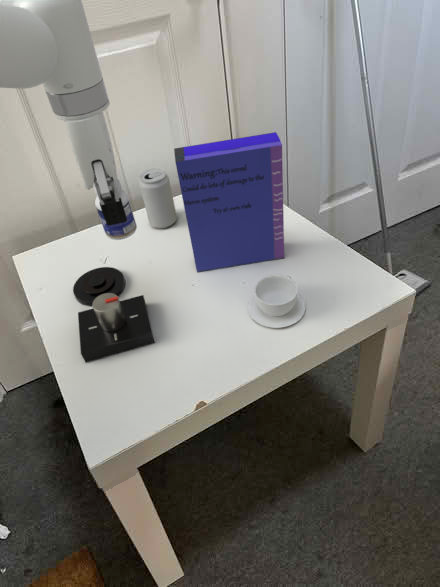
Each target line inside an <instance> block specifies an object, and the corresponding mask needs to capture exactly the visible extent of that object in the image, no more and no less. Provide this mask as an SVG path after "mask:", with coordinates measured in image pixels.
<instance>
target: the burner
mask: <svg viewBox="0 0 440 587" xmlns="http://www.w3.org/2000/svg"><path fill="white" fill-rule="evenodd" d="M125 287H126V279H125V276H124V274H123V273H122V271H120V270H119V269H117V268H115V267H111V266H101V267H96V268H93V269H90V270H88V271H87V272H84V273H83V274H82V275H81V276H79V278H77V279H76V280H75V282H74V285H73V287H72V294H73V296H74V299H75V300H76V301H77V303H79V304H81V305H83V306H87V307H92V304H93V301H94V300H95V299H96V298H97V297H98V296H100V295H102V294H105V293H113V294H115V295H117V296H118V297H120V295H121V294H122V293H123V292H124V290H125Z"/></svg>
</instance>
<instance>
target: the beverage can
mask: <svg viewBox="0 0 440 587" xmlns="http://www.w3.org/2000/svg"><path fill="white" fill-rule="evenodd" d="M138 184H139V188H140V192H141V196H142V200H143V204H144V208H145V213H146V216H147V220H148V223H149V225H150V226H152V227H153V228H156V229H166V228H169V227H171V226H173V225H174V223H176V221H177V219H178V216H177V210H176V206H175V200H174V196H173V190H172V187H171V181H170V177H169V175H168V174H167V171H166V170H165V169H163V168H149V169H146V170H144V171H143V172H142V173H140V174H139V181H138Z"/></svg>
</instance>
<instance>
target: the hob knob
mask: <svg viewBox="0 0 440 587" xmlns="http://www.w3.org/2000/svg"><path fill="white" fill-rule="evenodd" d="M120 301H121V300H120V299H119V296H117V295H115V294H113V293H105V294H102V295H100V296H98V297H97V298H96V299H95V300H94V301H93V304H92V306H91V307H92V309H94V311H95V314H96V316H97V318H98V321H99V323H100V325H101V328H102V329H103V330H105V331H108V332H113V331H117V330H119V329H120V328H122V327H123V326H124V324H125V322H126V317H125V314H124V312H123V309H122V306H121V304H120Z"/></svg>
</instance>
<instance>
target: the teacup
mask: <svg viewBox="0 0 440 587" xmlns="http://www.w3.org/2000/svg"><path fill="white" fill-rule="evenodd" d="M253 293H254V295H252V297H251V298H250V300H249V302H248V305H247V310H248V314H249V316H250V318H251V319H252V320H253V321H254V322H255V323H257V324H259V325H261V326H263V327H267V328H273V329H279V328H280V329H281V328H286V327H289V326H292V325H293V324H295V323H297V322H299V321H300V320H301V319H302V318H303V317H304V315H305V313H306V306H307V305H306V302H305V300H304V298H303V297H302V295H301V294H299V287H298V284H297V282H296V281H295V280H293V278H292V277H291V276H288V275H282V274H271V275H268V276H265V277H263V278H261V279H259V280H258V281H257V283H256V284H255V286H254V288H253Z"/></svg>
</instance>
